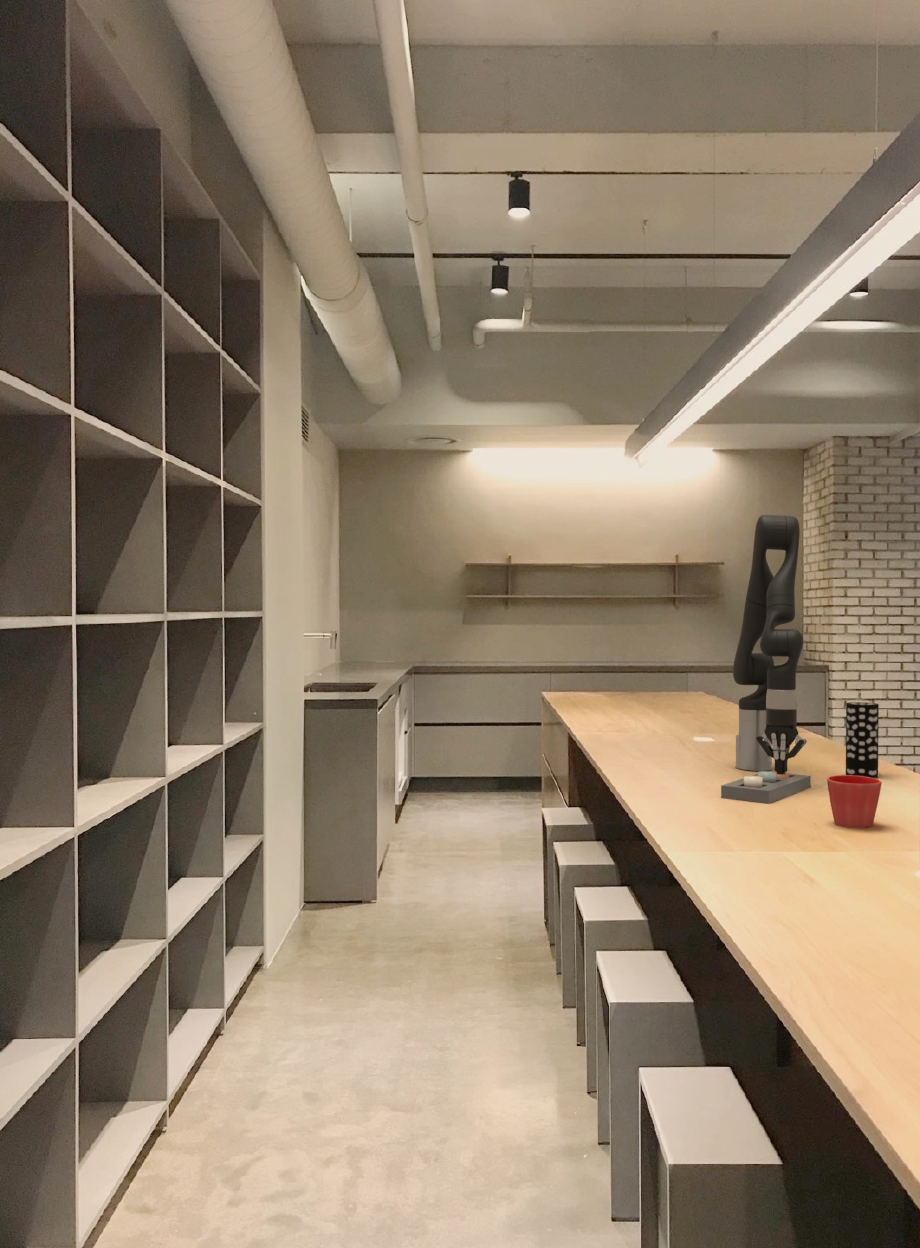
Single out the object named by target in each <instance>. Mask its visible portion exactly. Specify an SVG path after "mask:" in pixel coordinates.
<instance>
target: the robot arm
mask: <svg viewBox="0 0 920 1248" xmlns="http://www.w3.org/2000/svg"><path fill="white" fill-rule="evenodd" d="M800 531H801V530H800V523H799V520H798V518H797V517H795V516H791V515H780V514H779V515H778V514H775V515H774V514H762V515H760V516H759V517H758V518H757V520H756V524H755V530H754V539H753V548H752V550H753V551H752V560H751V569H750V574H749V575H750V576H749V580H748V586H747V592H746V595H745V602H744V610H743V618H742V625H741V629H740V630H741V631H740V636H739V640H738V643H737V644H738V645H737V648H736V652H735V656H734V660H733V667H732V674H733V675H732V677H733V680H734V683H736V684H737V685H740V686H758V687H757V689H756V690H755V691H754V692H752V693H750V694H749V695H746V696H743V697H740V698H739V701H738V734H737V735H735V769H739V770H744V771H753V772H755V771H756V772H759V771H771V770H772V769H773V760H774V772H777V774H782V775H783V774H785V773H788V760H789V759H792V758H795V757H796V756H797V755H798V753H799V752H800V751H801V750H802V749H803V747H804V746H805V745H806V744H807V743H808V742H807V739H806V738H803V737H802V736H800V735H799V731H798V729H797V725H798V724H797V723H798V722H797V721H798V720H797V719H798V718H797V717H798V715H797V714H798V709H797V708H798V701H797V700H798V699H797V691H796V690H797V684H796V683H797V680H796V679H797V669H798V663H799V659H800V656H801V654H802V651H803V647H804V636H803V634H802V633H801V632H800V630H798V629H793V628H792V629H791V628H790V629H783V628H781V629H780V628H779V629H778V628H777V629H776V627H778V626H780V625H786V624H789V623H791V622H793V621H794V619H795V617H796V600H795V598H796V597H795V587H796V586H795V585H796V584H795V583H796V576H797V575H796V574H797V567H798V557H799V547H800V534H801V532H800ZM767 550H775V551H776V550H777V551H785V555H784V559H783V561H782V564H781V566H780V568H779V569H778V571H777V573H776V574H775V575H773V573H772V570H771V569H770V566H769V564H768V561H767ZM759 640H760V641H759ZM757 642H760V643H759V648H760V651H761V652H753V651H754V648H755V646H756V645H757ZM773 657H779V658H780V657H788V659H787V660H786V662H785V663H783V664H778V665H775V662H774V658H773ZM793 743H794V744H795V745H794V746H793V747H792V749H791V750H790V748H791V745H792V744H793Z"/></svg>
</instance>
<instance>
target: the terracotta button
mask: <svg viewBox="0 0 920 1248" xmlns="http://www.w3.org/2000/svg"><path fill="white" fill-rule="evenodd" d="M790 774H791V773H789V774H788V772H785V774H783V775H782V774H777V772H776V777H779V778H790Z"/></svg>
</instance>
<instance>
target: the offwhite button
mask: <svg viewBox="0 0 920 1248" xmlns="http://www.w3.org/2000/svg"><path fill="white" fill-rule="evenodd" d="M743 778H744V786H745V787H754V788H762V777H760V776H752V775H744V776H743Z"/></svg>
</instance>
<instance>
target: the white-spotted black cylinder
mask: <svg viewBox="0 0 920 1248" xmlns="http://www.w3.org/2000/svg"><path fill="white" fill-rule="evenodd" d="M879 708H880V704H879V703H874V702H864V701H863V702H859V701H857V702H856V701H854V702H853V701H851V702H846V703H845V775H854V776H863V777H870V778H875V779H878V778H879V732H880V731H879V729H880V728H879V723H880V722H879V721H880V720H879V717H880V716H879V713H880V711H879V710H880V709H879Z"/></svg>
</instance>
